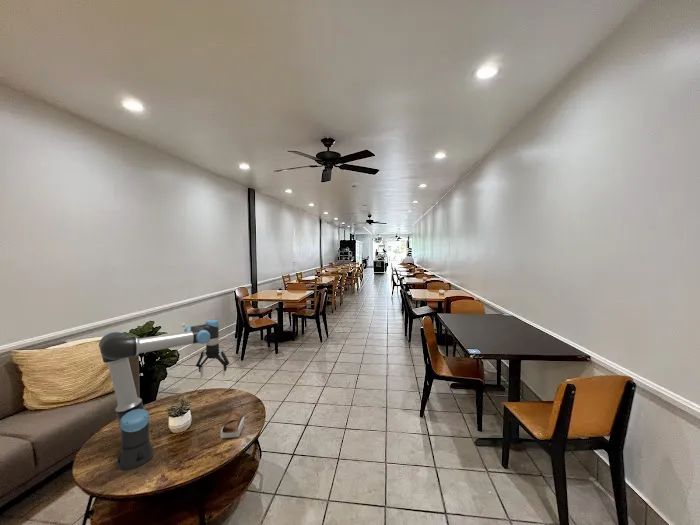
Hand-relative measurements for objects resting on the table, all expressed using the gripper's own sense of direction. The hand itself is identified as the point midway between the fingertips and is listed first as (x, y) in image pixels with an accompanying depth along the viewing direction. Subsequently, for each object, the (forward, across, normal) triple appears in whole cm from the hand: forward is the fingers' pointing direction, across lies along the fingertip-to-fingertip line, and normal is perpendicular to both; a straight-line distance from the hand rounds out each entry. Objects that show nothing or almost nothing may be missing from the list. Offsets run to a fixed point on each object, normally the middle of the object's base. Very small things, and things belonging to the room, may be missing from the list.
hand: (213, 376), depth 185 cm
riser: (+27, -17, +17) cm, 36 cm away
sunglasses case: (+23, -17, +17) cm, 33 cm away
